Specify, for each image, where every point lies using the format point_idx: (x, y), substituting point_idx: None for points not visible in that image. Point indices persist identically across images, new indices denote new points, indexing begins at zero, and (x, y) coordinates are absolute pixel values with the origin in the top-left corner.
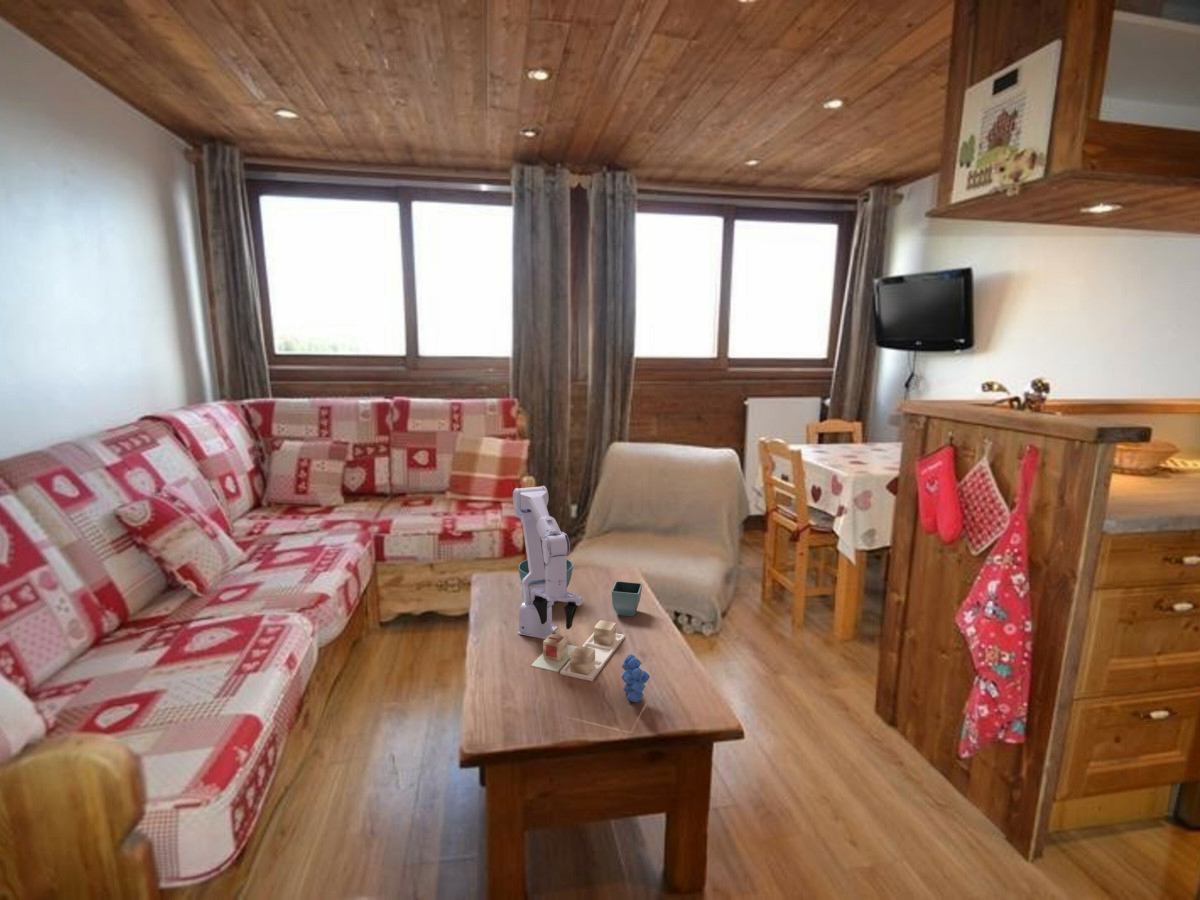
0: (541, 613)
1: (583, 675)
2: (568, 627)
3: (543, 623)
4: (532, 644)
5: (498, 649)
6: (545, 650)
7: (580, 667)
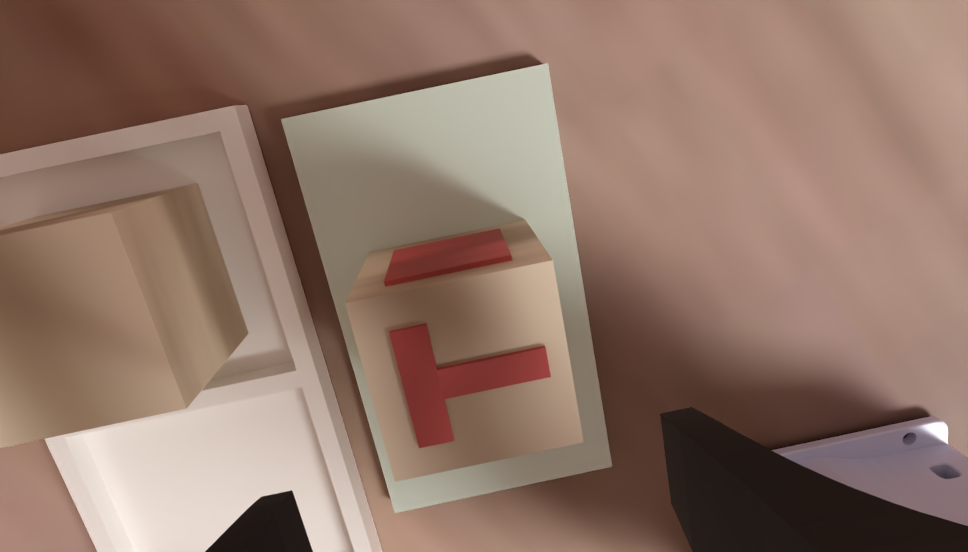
0: (761, 498)
1: (13, 163)
2: (246, 512)
3: (664, 422)
4: (749, 362)
5: (959, 147)
6: (512, 241)
7: (65, 213)
